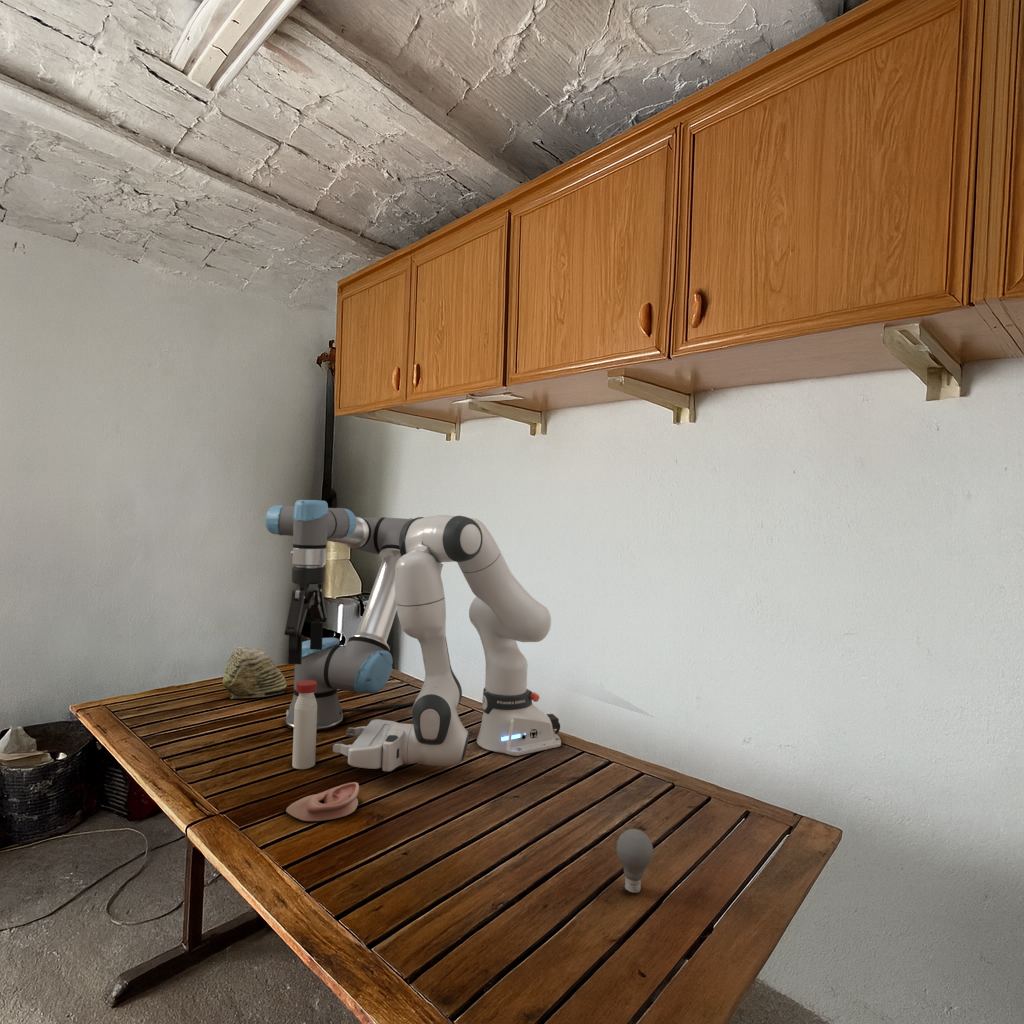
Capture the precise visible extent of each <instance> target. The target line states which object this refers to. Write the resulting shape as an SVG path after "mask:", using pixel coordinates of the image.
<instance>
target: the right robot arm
mask: <svg viewBox="0 0 1024 1024" xmlns="http://www.w3.org/2000/svg"><path fill="white" fill-rule="evenodd" d="M399 547H400V554H401V557H400V558H399V559H398V561H397V563H396V567H395V598H396V606H397V611H396V614H397V617H398V621H399V624H400V626H401V630H402V631H403V632H404V633H405V634H406V635H407V636H409V637H410V638H413V639H416V640H417V641H418V643H419V645H420V649H421V654H422V662H423V666H424V672H425V674H424V681H423V683H422V686H421V688H420V691H419V693H418V695H417V697H416V698H415V700H414V701H415V703H414V704H413V705H412V709H411V718H412V723H402V722H398V721H393V720H387V719H379V718H377V719H372V720H370V722H369V723H368V724H367V726H366V725H361V726H357V727H348V728H347V729H346V731H345V736H346V738H354V737H357V738H356V739H355V740H354V742H353V743H352V744H344V743H343V742H339V741H337V742H335V743H334V744H333V745H332V752H333V753H337V754H341V755H343V756H345V757H347V764H348V765H349V766H351V767H354V768H362V769H372V770H374V769H375V770H377V769H381V771H383V772H392V771H394V770H395V769H396V768H398V767H401V766H403V765H414V764H422V765H425V766H431V767H452V766H457V765H459V764H461V763H462V762H463V761H464V759H465V756H466V752H467V749H468V744H469V740H470V734H469V731H468V730H467V729H466V728H465V727H464V725H463V723H462V721H461V719H460V716H459V714H458V711H457V708H458V707H459V705H460V703H461V701H462V697H463V689H462V685H461V682H460V681H459V679H458V677H456V675H455V673H454V671H453V669H452V665H451V660H450V654H449V648H448V641H447V636H446V634H447V633H446V630H447V627H446V625H447V607H446V605H447V604H446V596H445V589H444V585H443V579H442V570H443V567H444V564H443V563H452V562H453V563H454V562H455V563H457V565H458V567H459V569H460V571H461V573H462V574H463V576H464V579H465V581H466V582H467V585H468V587H469V588H470V590H471V592H472V594H473V595H474V596H475V597H474V598H473V600H472V601H471V603H470V605H469V609H468V617H469V621H470V623H471V624H472V625H473V627H474V628H475V630H476V632H477V633H478V636H479V639H480V642H481V645H482V648H483V653H484V660H485V675H484V677H485V678H484V679H485V680H484V682H485V683H484V688H483V691H482V692H483V693H482V699H481V701H482V702H481V705H482V717H481V723H480V728H479V731H478V735H477V737H476V744H477V745H478V746H479V747H481V748H482V749H484V750H487V751H490V752H496V753H501V754H505V755H509V756H513V757H517V756H518V757H519V756H523V755H527V754H533V753H537V752H542V751H545V750H551V749H554V748H559V747H561V746H562V740H561V737H560V736H559V732H560V730H561V724H560V722H559V718H558V717H557V716H556V715H555V714H554V713H545V712H544V711H543V710H541V708H539V707H538V706H537V705H535V704H534V703H537V702H539V700H540V699H541V697H540V695H539V694H538V693H536V692H535V691H531V690H530V689H528V688H527V687H528V669H529V668H528V667H529V666H528V665H529V664H528V660H527V658H526V656H525V655H524V654H523V652H522V651H521V649H520V647H519V645H518V643H517V642H519V643H539V642H542V641H543V640H544V639H545V638H546V637H547V636H548V635H549V632H550V630H551V627H552V617H551V613H550V611H549V609H548V607H546V606H545V605H543V604H542V603H541V602H539V601H538V600H537V599H536V598H534V597H533V596H532V595H531V594H530V593H529V592H528V591H527V590H526V589H525V587H524V586H523V585H522V584H521V582H519V581H518V580H517V578H516V576H515V575H514V574H513V572H512V571H511V569H510V567H509V565H508V563H507V561H506V559H505V557H504V556H503V553H502V551H501V549H500V547H499V545H498V543H497V542H496V540H495V538H494V536H493V535H492V534H491V532H490V531H489V529H488V528H487V526H486V525H485V524H484V522H482V521H481V520H480V519H478V518H472V517H468V516H464V515H446V514H438V515H433V516H425V517H424V516H420V517H419V516H418V517H413V518H412V520H409V521H408V522H406V523H405V524H404V526H403V527H402V529H401V532H400V537H399ZM533 702H534V703H533ZM554 730H555V731H554Z"/></svg>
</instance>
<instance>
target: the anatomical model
mask: <svg viewBox="0 0 1024 1024" xmlns="http://www.w3.org/2000/svg"><path fill="white" fill-rule="evenodd" d="M359 792H360V785H359V783H358V782H355V781H352V782H347V783H344V784H341V785H338V786H335V787H332V788H329V789H327V790H324V791H321V792H319V793H316V794H311V795H307V796H304V797H302V798H300V799H298V800H296V801H294V802H293V803H291V804H289V806H287V807H286V809H285V812H286V813H287V814H288V815H289V816H291V817H293V818H295V819H297V820H300V821H303V822H321V821H329V820H334V819H339V818H342V817H346V816H348V815H351V814H353V812H355V811H356V809H357V808H358V805H359V799H358V798H357V796H358V795H359Z"/></svg>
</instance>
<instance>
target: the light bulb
mask: <svg viewBox="0 0 1024 1024" xmlns="http://www.w3.org/2000/svg"><path fill="white" fill-rule="evenodd" d="M615 849H616V854H617V857H618V859H619V861H620V863H621V865H622V867H623V873H624V874H623V875H624V876H625V878H624V888H625V890H627V891H628V892H630V893H634V894H635V893H639V892H640V891H641V889H642V887H641V886H642V879H643V877H644V875H645V871H646V868H647V867H648V866H649V864H650V863H651V861H652V859H653V855H654V847H653V843H652V841H651V838H649V836H648V835H647V834H646V833H645V832H643V831H642V830H641V829H636V828H629V829H627V830H625V831H623V832H622V833H621V834H620V835H619V837H618V839H617V841H616V847H615Z"/></svg>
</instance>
